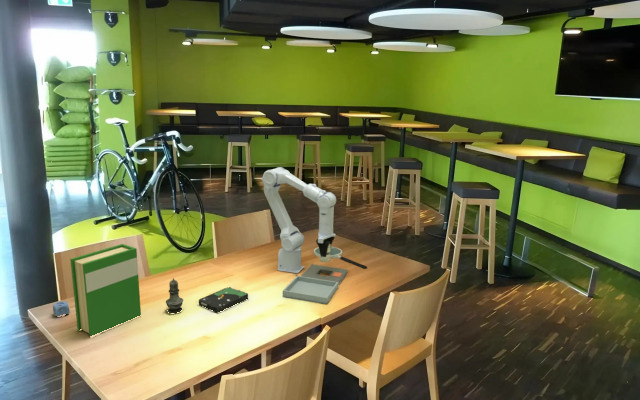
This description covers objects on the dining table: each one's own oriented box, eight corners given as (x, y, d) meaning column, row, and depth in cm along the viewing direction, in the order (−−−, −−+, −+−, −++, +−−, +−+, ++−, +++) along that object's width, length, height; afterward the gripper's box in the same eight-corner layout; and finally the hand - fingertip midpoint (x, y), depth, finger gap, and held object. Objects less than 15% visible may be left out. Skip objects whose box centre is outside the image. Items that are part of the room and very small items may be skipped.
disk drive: (218, 315, 162) (248, 300, 174) (218, 308, 162) (248, 293, 173) (198, 306, 168) (228, 292, 180) (197, 299, 167) (228, 285, 179)
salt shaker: (167, 315, 160) (166, 282, 157) (164, 308, 165) (162, 276, 162) (185, 312, 162) (184, 279, 159) (181, 305, 167) (180, 273, 164)
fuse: (318, 261, 193) (319, 245, 192) (321, 257, 197) (322, 241, 196) (328, 262, 192) (328, 246, 190) (331, 259, 196) (331, 243, 194)
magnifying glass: (355, 273, 201) (355, 269, 201) (307, 253, 224) (308, 249, 223) (375, 266, 210) (376, 262, 210) (328, 247, 232) (328, 244, 232)
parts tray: (282, 296, 176) (282, 290, 176) (297, 281, 190) (297, 275, 190) (326, 304, 171) (326, 298, 170) (338, 288, 185) (338, 282, 185)
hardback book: (91, 338, 145) (84, 264, 139) (77, 330, 149) (70, 258, 143) (141, 316, 159) (136, 248, 153) (127, 310, 163) (122, 243, 157)
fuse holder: (300, 279, 192) (300, 275, 192) (311, 267, 205) (311, 263, 205) (338, 285, 188) (338, 281, 187) (347, 272, 201) (347, 269, 200)
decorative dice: (66, 310, 161) (65, 300, 160) (70, 315, 158) (68, 304, 157) (53, 314, 158) (52, 303, 158) (56, 318, 156) (55, 307, 155)
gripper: (330, 228, 183) (329, 261, 186) (340, 219, 196) (339, 250, 200) (313, 226, 185) (312, 259, 188) (324, 217, 199) (323, 248, 202)
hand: (325, 254), depth 194 cm, fingers closed on fuse, 4 cm apart
